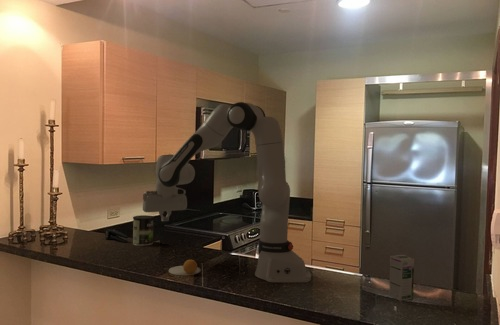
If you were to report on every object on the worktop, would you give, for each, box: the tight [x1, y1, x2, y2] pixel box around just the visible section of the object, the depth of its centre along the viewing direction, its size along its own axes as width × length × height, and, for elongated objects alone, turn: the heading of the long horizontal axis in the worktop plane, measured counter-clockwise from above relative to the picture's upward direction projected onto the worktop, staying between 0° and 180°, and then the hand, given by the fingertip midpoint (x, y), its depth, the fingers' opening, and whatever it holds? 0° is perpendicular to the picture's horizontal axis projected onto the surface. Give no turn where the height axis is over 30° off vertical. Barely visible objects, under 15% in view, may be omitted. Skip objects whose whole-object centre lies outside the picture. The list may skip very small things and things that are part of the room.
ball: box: [182, 259, 198, 274], centre depth 163 cm, size 6×6×6 cm
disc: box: [168, 265, 201, 276], centre depth 167 cm, size 13×13×1 cm
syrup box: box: [388, 254, 415, 302], centre depth 142 cm, size 6×6×14 cm
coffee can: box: [132, 214, 155, 247], centre depth 211 cm, size 10×10×14 cm
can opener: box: [104, 228, 129, 244], centre depth 217 cm, size 18×7×6 cm, turn 52°
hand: (164, 221), depth 183 cm, fingers closed
